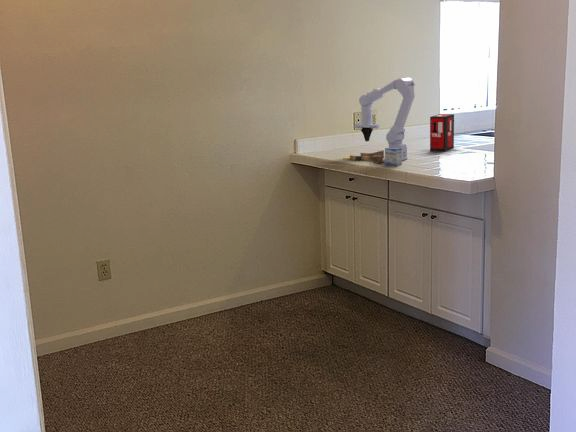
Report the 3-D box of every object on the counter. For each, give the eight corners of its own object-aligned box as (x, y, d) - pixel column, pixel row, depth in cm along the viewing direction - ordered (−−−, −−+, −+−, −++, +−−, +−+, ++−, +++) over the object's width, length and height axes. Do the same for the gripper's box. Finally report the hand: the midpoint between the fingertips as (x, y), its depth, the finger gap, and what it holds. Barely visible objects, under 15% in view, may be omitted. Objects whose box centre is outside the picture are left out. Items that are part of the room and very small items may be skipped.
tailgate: (362, 155, 360) (352, 155, 364) (352, 158, 353) (342, 157, 357) (362, 158, 360) (352, 157, 364) (352, 160, 353) (342, 159, 357)
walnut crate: (382, 163, 341) (382, 155, 340) (380, 164, 338) (380, 156, 337) (375, 162, 343) (375, 155, 342) (373, 164, 339) (373, 156, 338)
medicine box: (384, 164, 335) (384, 148, 333) (389, 163, 338) (389, 147, 336) (397, 165, 329) (396, 149, 327) (402, 164, 332) (402, 148, 330)
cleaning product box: (439, 147, 388) (439, 114, 384) (453, 147, 384) (454, 114, 379) (430, 151, 375) (430, 116, 370) (444, 151, 370) (445, 116, 366)
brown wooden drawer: (384, 159, 353) (384, 150, 352) (371, 162, 343) (371, 153, 342) (362, 157, 362) (362, 149, 361) (348, 161, 352) (348, 152, 351)
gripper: (381, 116, 355) (382, 140, 358) (359, 116, 364) (360, 139, 367) (374, 117, 349) (375, 142, 353) (352, 117, 358) (353, 141, 362)
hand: (367, 141), depth 359 cm, fingers closed
